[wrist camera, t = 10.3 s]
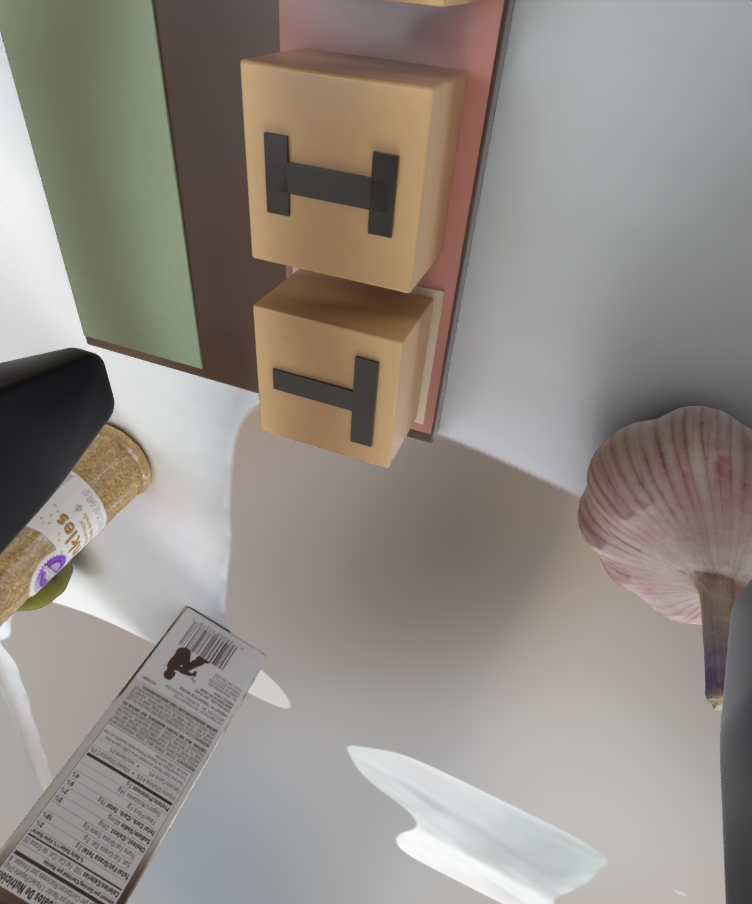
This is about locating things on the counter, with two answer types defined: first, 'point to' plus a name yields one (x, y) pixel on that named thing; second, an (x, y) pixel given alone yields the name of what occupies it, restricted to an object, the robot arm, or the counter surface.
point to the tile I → (350, 163)
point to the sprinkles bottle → (72, 516)
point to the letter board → (215, 160)
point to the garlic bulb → (677, 520)
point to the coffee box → (131, 772)
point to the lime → (49, 590)
